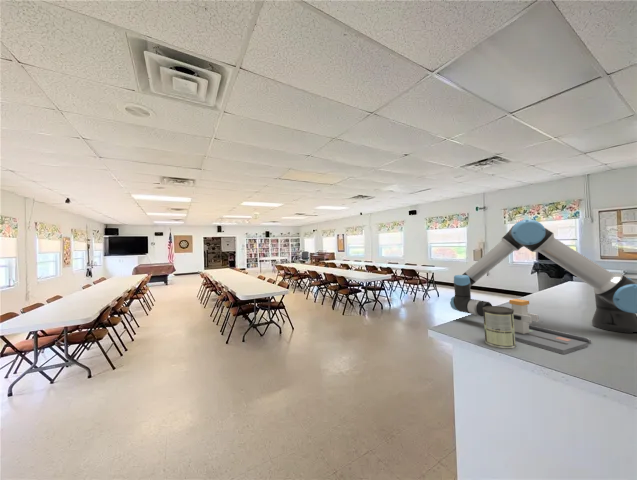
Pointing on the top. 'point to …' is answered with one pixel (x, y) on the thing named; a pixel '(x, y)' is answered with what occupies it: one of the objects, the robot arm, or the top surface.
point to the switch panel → (550, 341)
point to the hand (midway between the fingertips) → (534, 319)
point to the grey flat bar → (560, 334)
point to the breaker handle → (522, 309)
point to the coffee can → (499, 326)
